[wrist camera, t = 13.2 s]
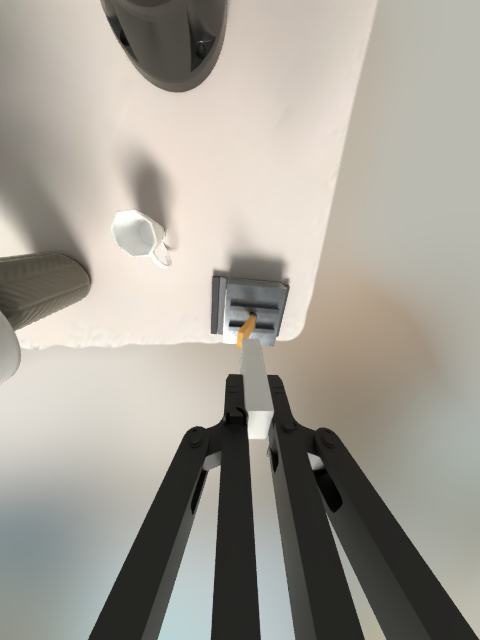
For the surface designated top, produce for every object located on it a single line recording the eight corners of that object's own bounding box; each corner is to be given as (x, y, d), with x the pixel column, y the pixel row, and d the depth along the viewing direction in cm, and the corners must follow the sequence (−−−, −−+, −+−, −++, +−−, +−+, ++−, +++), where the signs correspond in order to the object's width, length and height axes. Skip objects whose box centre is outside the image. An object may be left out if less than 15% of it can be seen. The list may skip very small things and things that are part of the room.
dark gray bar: (282, 284, 40) (283, 286, 39) (288, 285, 40) (289, 286, 39) (271, 333, 46) (272, 336, 44) (276, 333, 46) (278, 336, 45)
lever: (252, 312, 37) (237, 331, 29) (257, 314, 36) (244, 333, 29) (250, 325, 38) (235, 346, 31) (255, 326, 38) (242, 348, 30)
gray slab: (213, 276, 38) (212, 277, 37) (226, 277, 39) (226, 278, 37) (211, 330, 45) (210, 333, 44) (223, 331, 45) (223, 334, 44)
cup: (156, 204, 32) (134, 197, 25) (189, 255, 36) (177, 261, 29) (127, 225, 34) (98, 224, 26) (162, 271, 38) (145, 281, 31)
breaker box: (227, 277, 39) (225, 285, 33) (281, 282, 40) (288, 290, 34) (223, 331, 45) (221, 345, 40) (270, 334, 46) (274, 349, 40)
